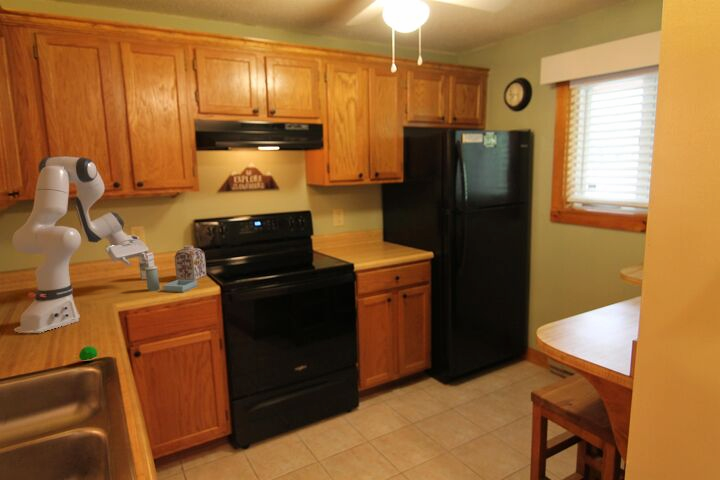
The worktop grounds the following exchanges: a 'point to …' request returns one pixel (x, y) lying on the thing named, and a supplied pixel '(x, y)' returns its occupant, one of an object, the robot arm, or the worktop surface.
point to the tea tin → (152, 278)
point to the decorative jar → (190, 263)
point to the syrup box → (145, 264)
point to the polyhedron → (88, 353)
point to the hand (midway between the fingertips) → (137, 262)
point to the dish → (180, 285)
